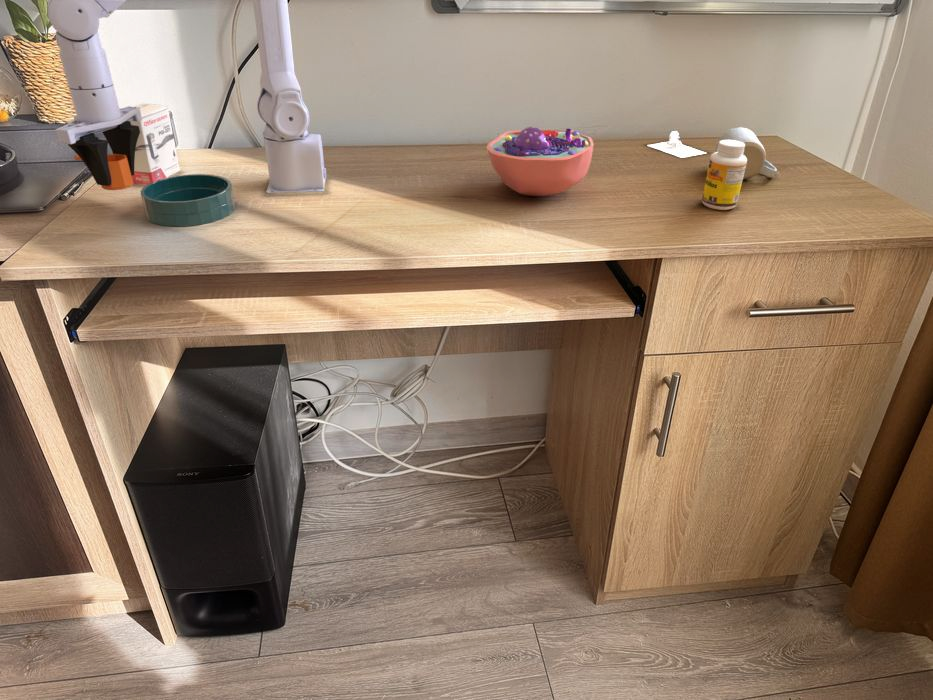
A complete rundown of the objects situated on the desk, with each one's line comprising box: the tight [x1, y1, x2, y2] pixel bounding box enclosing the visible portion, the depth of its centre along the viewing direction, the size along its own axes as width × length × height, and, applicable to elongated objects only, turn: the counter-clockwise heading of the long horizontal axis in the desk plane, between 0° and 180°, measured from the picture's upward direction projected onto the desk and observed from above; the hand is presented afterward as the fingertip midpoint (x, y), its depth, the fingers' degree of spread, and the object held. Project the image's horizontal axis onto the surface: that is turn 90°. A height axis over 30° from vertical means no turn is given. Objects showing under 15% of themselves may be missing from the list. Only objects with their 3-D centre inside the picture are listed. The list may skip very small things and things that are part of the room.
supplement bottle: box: [701, 140, 747, 211], centre depth 110 cm, size 6×6×10 cm
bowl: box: [140, 173, 236, 227], centre depth 105 cm, size 13×13×4 cm
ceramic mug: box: [714, 126, 778, 180], centre depth 124 cm, size 11×8×8 cm
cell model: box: [486, 126, 595, 197], centre depth 114 cm, size 17×20×11 cm
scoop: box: [73, 153, 134, 191], centre depth 104 cm, size 8×4×4 cm, turn 73°
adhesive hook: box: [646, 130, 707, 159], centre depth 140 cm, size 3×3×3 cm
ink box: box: [130, 103, 181, 186], centre depth 117 cm, size 9×5×12 cm, turn 168°
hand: (116, 179), depth 104 cm, fingers closed on scoop, 4 cm apart
